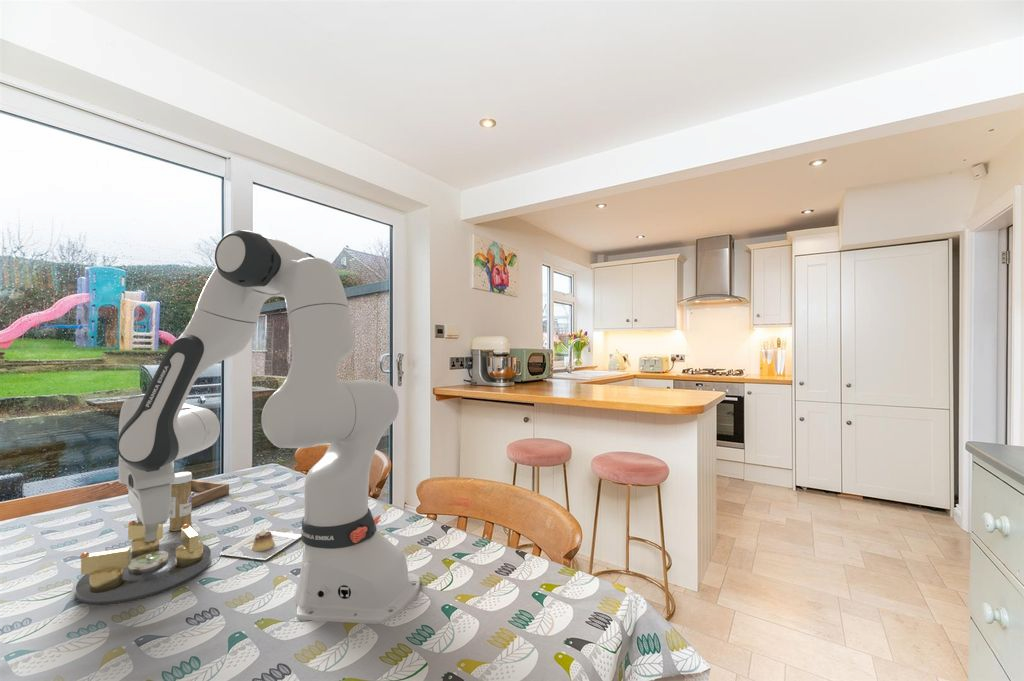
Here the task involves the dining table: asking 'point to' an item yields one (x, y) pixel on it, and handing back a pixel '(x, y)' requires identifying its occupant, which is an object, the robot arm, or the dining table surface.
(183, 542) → the knob near
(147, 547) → the knob far
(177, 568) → the plate
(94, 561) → the knob left
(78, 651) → the dining table surface
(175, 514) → the sprinkles bottle
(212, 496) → the wooden tray
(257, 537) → the dessert
